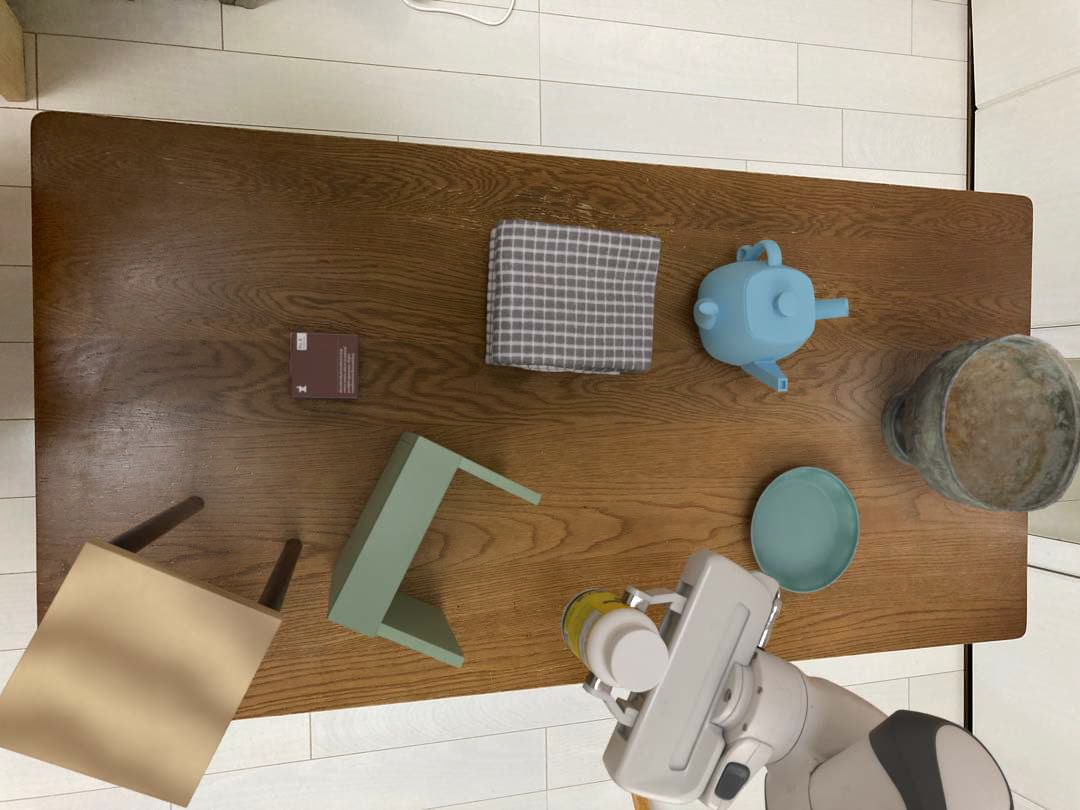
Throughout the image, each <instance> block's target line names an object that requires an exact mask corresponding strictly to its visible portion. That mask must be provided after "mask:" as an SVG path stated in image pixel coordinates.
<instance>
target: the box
mask: <svg viewBox="0 0 1080 810" xmlns="http://www.w3.org/2000/svg"><path fill="white" fill-rule="evenodd" d="M289 345H290V351H289V352H290V354H289V355H290V360H289V397H290V399H294V400H296V401H323V402H324V401H327V402H328V401H329V402H330V401H332V402H334V401H335V402H336V401H337V402H338V401H339V402H340V401H341V402H342V401H344V402H347V401H357V400H358V398H359V383H360V381H359V379H360V378H359V374H360V372H359V371H360V369H359V368H360V344H359V335H358V334H352V333H351V334H350V333H326V332H325V333H324V332H323V333H322V332H305V331H304V332H303V331H301V332H300V331H291V332H290V343H289Z"/></svg>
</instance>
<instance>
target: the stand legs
mask: <svg viewBox="0 0 1080 810" xmlns="http://www.w3.org/2000/svg"><path fill="white" fill-rule="evenodd" d="M204 507H205V501H204V499H203V498H202V497H201V496H199V495H191V496H189V497H188V498H186V499H184V500H182V501H181V502H179V503H176V504H175V505H173V506H171V507H169V508H167V509H166V510H163V511H161V512H160V513H158V514H156V515H154V516H152V517H151V518H150V517H149V519H147V520H145V521H143V522H141V523H139V524H137V525H135V526H133V527H131V528H130V529H128V530H126V531H123V533H120V534H119V535H116V536H115V537H113V538H110V539H109V540H107V541H106V542H107V543H110V544H112V545H115V546H117V547H120V548H122V549H125V550H127V551H130V552H132V553H134V554H137V553H139V552H141V551H142V550H144V549H145V548H147V547H148V546H150V545H151V544H153V543H154V542H155V541H157V540H159V539H160V538H161V537H163V536H164V535H165V536H166V534H168V533H170V531H172V530H174V529H175V528H177V527H178V526H180V525H181V524H183V523H185V522H186V521H187V520H188V519H190V518H192V517H193V516H195V515H196V514H198V513H199V512H201V511H202V510H203V509H204ZM302 543H303V542H302V541H301V540H300V539H299V538H296V537H291V538H290V539H288V540H287V541H286V542H285V544H284V546H283V549H282V550H281V553H280V555H279V557H278V559H277V561H276V563H275V565H274V567H273V569H272V571H271V573H270V575H269V578H268V580H267V582H266V584H265V585H264V588H263V589H262V592H261V594H260V597H259V599H258V601H257V603H258V604H261V605H263V606H266V607H268V608H271V609H273V610H276V611H278V612H281V610H282V608H283V604H284V601H285V598H286V595H287V593H288V589H289V586H290V583H291V581H292V577H293V575H294V572H295V570H296V566H297V564H298V561H299V558H300V555H301V552H302V548H303V544H302Z"/></svg>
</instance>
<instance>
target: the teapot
mask: <svg viewBox="0 0 1080 810" xmlns="http://www.w3.org/2000/svg"><path fill="white" fill-rule="evenodd" d="M764 251H765V252H766V255H767V260H760V259H759V257H760V256H761V255H762V253H764ZM782 255H783V254H782V251H781V248H780V246H779V244H778V243H777V242H776V241H774V240H772V239H763V240H760V241H758V242H756V243H755V244H754V245H753V246H751V245H747V244H746V245H745V244H744V245H742V246H740V247H739V248H738V249H737V252H736V261H735V262H731V263H728V264H725V265H722V266H719V267H717V268H715V269H713V270H712V271H710V272H708V273H707V274H706V276H704V278H703V279H702V281H701V282H700V284H699V287H698V293H697V301H696V302H695V304H694V306H693V319H694V322H695V324H696V325H697V327H698V333H699V337H700V341H701V343H702V346H703V348H704V350H705V351H706V353H707V354H708V355H709V356H710V357H712V358H714V359H715V360H717V361H719V362H722V363H725V364H728V365H732V366H736V367H741V370H742V371H744V372H745V373H747V374H748V375H750V376H752V377H753V378H755V379H756V380H757V381H759V382H761V383H763V384H764V385H766V386H767V387H769V388H771V389H772V390H774V391H776V392H788V380H789V378H788V377H786V375H785V374H784V373H783V371H782V369H781V368H780V367H779V365H778V364H777V361H779V360H782V359H784V358H786V357H788V356H790V355H791V354H794V353H795V352H797V350H799V349H801V347H802V346H803V345H805V343H806V342H807V341H808V339H809V338H810V337H811V336H812V334H813V333H814V331H815V327H816V321H820V320H829V319H839V318H847V317H849V313H850V312H849V310H850V309H849V299H848V298H847V297H837V298H823V299H816V298H815V297H816V296H815V290H814V286H813V283H812V280H811V278H810V277H809V276H808V275H807V274H805V273H804V272H802V271H801V270H798V269H796V268H794V267H791V266H788V265H785V264H782V263H783V259H782V258H783V257H782Z"/></svg>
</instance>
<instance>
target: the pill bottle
mask: <svg viewBox="0 0 1080 810" xmlns="http://www.w3.org/2000/svg"><path fill="white" fill-rule="evenodd" d="M621 598H622V597H619V596H618V595H617V594H615V593H613V592H611V591H609V590H607V589H604V588H599V587H593V588H587V589H584V590H582V591H580V592H578V593H576V594H575V595H574V596H573V597H571V599H570V600H569V601H568V603H567V604H566V605H565V607H564V609H563V611H562V614H561V619H560V632H561V636H562V638H563V640H564V643H565V644H566V646H567V648H569V650H570V651H571V652H572V653H573V654H574V655H575V656H576V657H577V658H578V659H579V661H581V663H582V664H584V666H585V667H586V668H587V669H588V670H589V671H590V670H591V671H592V672H593V674H594V675H595V676H596V677H597V678H599V679H600V680H601V681H602V682H604V683H605V684H607V685H609V686H612V687H613V688H616V689H624V690H626V691H628V692H644V691H647V690H650V689H652V688H653V687H655V686H656V685H657V684H658V683H659V682H660V681H661V680H662V678H663V677H664V675H665V673H666V671H667V667H668V662H669V655H668V650H667V647H666V645H665V643H664V641H663V640H662V639H661V637H660V635H659V632H658V627H657V626H656V624H655V623H654V621H653V620H652V619H651V618H650V617H649V616H648V615H647V614H646V613H643V612H641V611H639V610H638V609H636V608H633V607H630V606H628V605H626V604H625V603H624V602H622V601H621Z"/></svg>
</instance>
